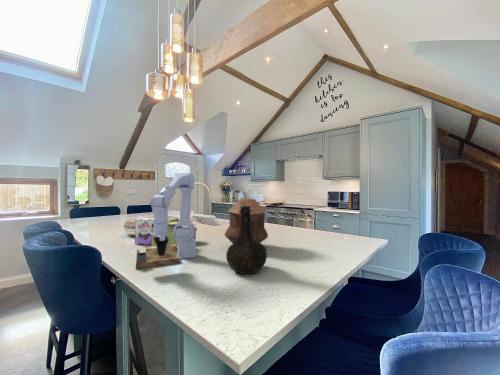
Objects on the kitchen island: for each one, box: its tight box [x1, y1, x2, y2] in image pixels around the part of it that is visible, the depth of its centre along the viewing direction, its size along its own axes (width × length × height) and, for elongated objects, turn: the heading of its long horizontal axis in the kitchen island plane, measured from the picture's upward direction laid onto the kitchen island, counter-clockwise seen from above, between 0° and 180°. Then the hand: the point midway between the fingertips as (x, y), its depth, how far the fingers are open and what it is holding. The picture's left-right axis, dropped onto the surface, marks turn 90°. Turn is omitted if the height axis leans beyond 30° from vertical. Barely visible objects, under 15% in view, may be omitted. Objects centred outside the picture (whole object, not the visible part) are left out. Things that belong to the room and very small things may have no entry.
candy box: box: [134, 217, 154, 246], centre depth 154 cm, size 14×6×16 cm, turn 80°
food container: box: [193, 225, 198, 240], centre depth 155 cm, size 12×6×10 cm, turn 168°
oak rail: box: [145, 244, 177, 261], centre depth 101 cm, size 12×4×5 cm, turn 115°
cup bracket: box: [136, 249, 147, 263], centre depth 109 cm, size 4×6×4 cm
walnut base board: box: [135, 253, 180, 270], centre depth 112 cm, size 19×7×2 cm, turn 115°
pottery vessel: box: [224, 197, 269, 244], centre depth 139 cm, size 26×26×30 cm
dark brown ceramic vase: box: [225, 206, 268, 274], centre depth 103 cm, size 18×18×28 cm
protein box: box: [151, 221, 184, 252], centre depth 141 cm, size 10×16×16 cm
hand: (161, 254), depth 101 cm, fingers closed on oak rail, 3 cm apart
